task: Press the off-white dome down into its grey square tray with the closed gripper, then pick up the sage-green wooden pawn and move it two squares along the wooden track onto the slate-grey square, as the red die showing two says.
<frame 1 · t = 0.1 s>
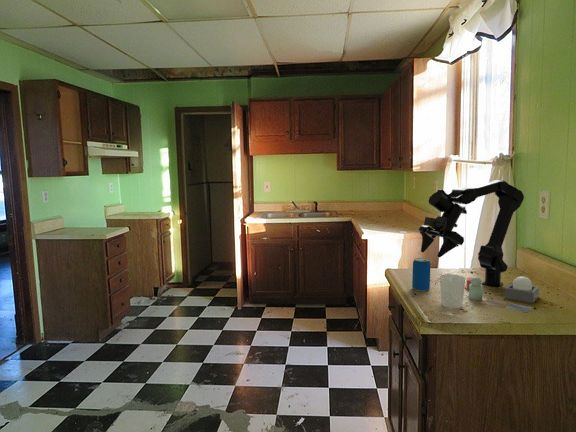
hand: (429, 254, 154), 15 cm above the counter, tool tilted 35°, fingers open, 9 cm apart
red die: (472, 289, 160), on the counter
beverage can: (420, 290, 161), on the counter
white cup: (451, 306, 142), on the counter
game track: (496, 304, 143), on the counter
dome: (522, 284, 149), point 5 cm above the counter, slide at 0.0 cm
pawn: (475, 299, 148), resting on game track
grey square tray: (521, 298, 149), on the counter
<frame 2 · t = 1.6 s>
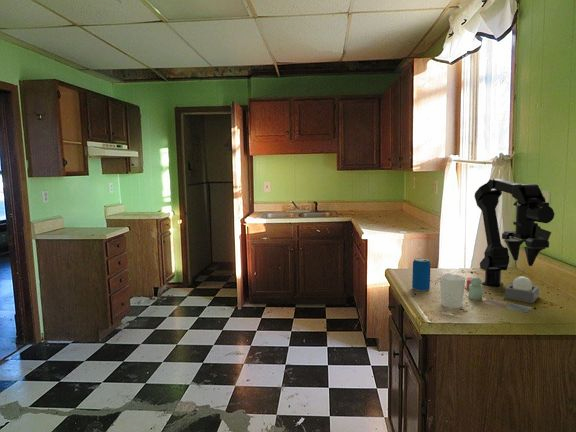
hand: (522, 263, 148), 13 cm above the counter, tool pointing down, fingers open, 8 cm apart
nothing on the counter moved.
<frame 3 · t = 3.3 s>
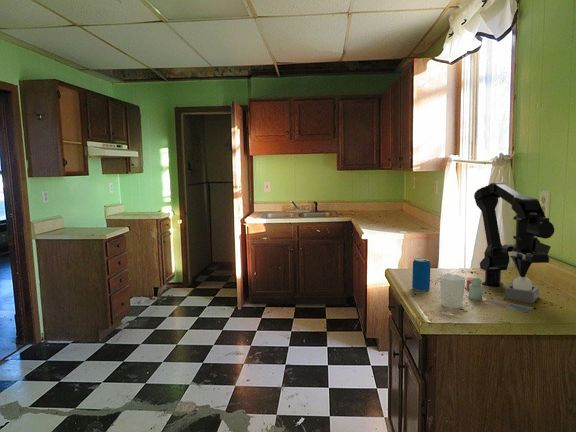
hand: (522, 276, 148), 8 cm above the counter, tool pointing down, fingers closed, pressing on dome
dome: (522, 284, 149), point 5 cm above the counter, slide at 0.1 cm, touching gripper
everything else where it was.
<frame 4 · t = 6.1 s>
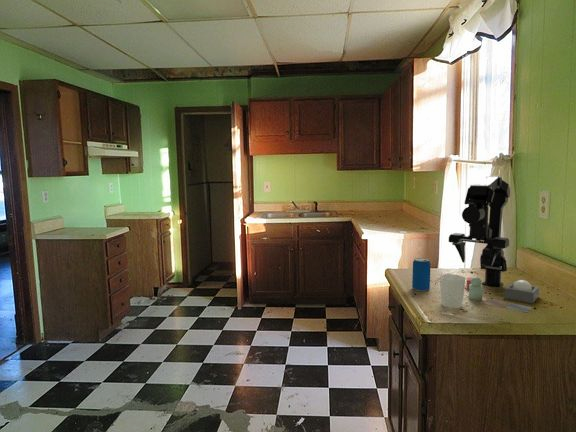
hand: (476, 264, 146), 13 cm above the counter, tool pointing down, fingers open, 9 cm apart
dome: (522, 288, 149), point 4 cm above the counter, slide at 1.3 cm
everything else where it was.
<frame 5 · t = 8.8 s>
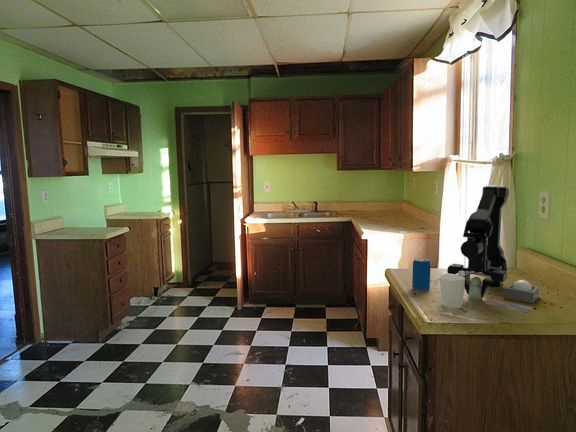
hand: (475, 295, 148), 2 cm above the counter, tool pointing down, fingers closed on pawn, 4 cm apart
pawn: (475, 299, 148), resting on game track, touching gripper
everything else where it was.
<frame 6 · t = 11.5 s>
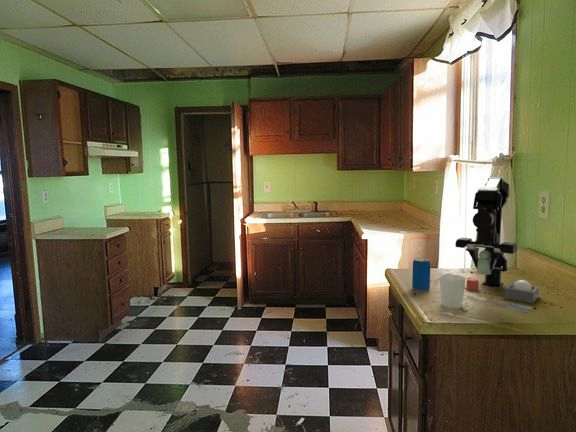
hand: (484, 269, 145), 12 cm above the counter, tool pointing down, fingers closed on pawn, 4 cm apart
pawn: (484, 272, 145), point 10 cm above the counter, touching gripper
everything else where it was.
when the fingers open (3 cm above the counter, at t = 14.5 s): pawn drops 1 cm, resting on game track.
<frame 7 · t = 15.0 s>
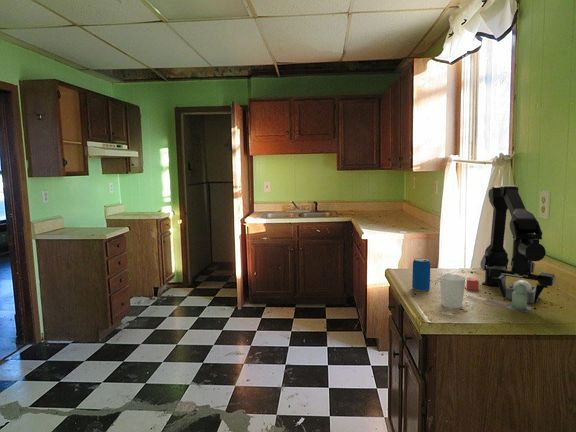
hand: (519, 300, 138), 3 cm above the counter, tool pointing down, fingers open, 9 cm apart
pawn: (519, 307, 139), resting on game track
everything else where it was.
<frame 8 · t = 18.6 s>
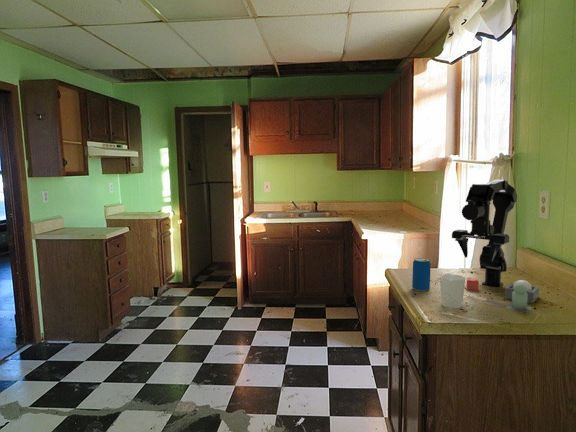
hand: (478, 259, 154), 13 cm above the counter, tool pointing down, fingers open, 9 cm apart
nothing on the counter moved.
at the end: dome slide at 1.3 cm; pawn 0.0 cm from the target spot, resting on game track; pawn tilted 0° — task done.
